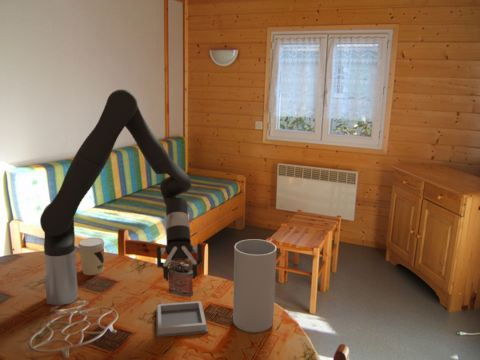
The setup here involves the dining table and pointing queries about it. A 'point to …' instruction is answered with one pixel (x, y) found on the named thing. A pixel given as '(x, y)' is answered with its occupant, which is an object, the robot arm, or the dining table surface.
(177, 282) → the lighter
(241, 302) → the cylinder vase
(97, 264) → the coffee cup
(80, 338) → the dining table surface
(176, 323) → the tray
